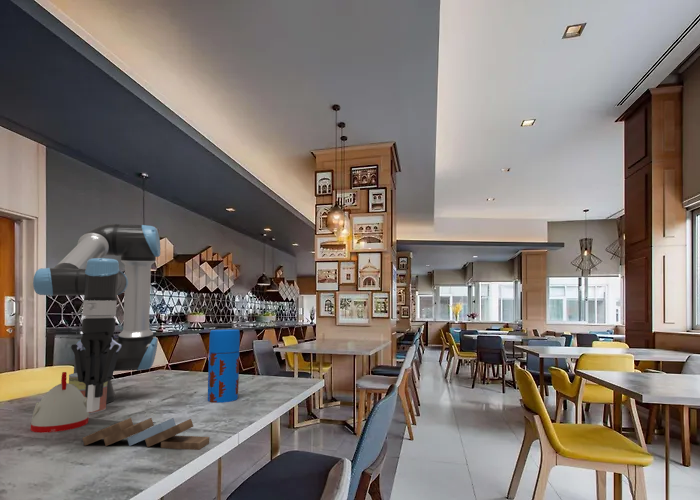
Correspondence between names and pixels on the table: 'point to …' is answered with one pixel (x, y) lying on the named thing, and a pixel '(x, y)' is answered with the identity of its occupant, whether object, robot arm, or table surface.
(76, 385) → the canned food
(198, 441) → the domino
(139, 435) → the domino
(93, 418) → the table surface
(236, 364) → the thermos
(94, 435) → the domino
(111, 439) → the domino
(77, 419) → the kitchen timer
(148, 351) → the robot arm
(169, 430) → the domino
